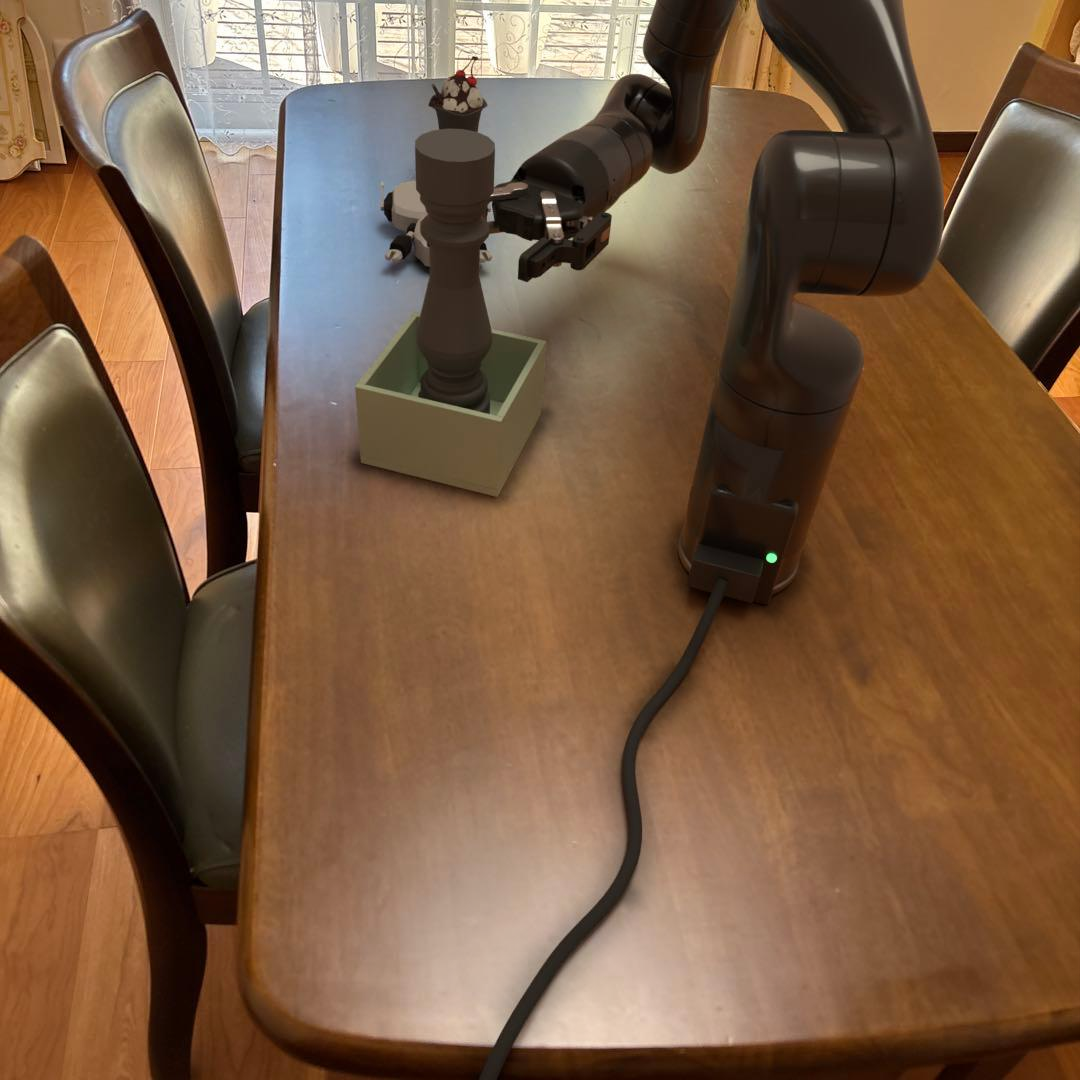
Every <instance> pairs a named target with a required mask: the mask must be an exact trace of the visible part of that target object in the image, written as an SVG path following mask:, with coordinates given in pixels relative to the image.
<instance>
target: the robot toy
mask: <svg viewBox="0 0 1080 1080" xmlns="http://www.w3.org/2000/svg"><path fill="white" fill-rule="evenodd" d="M380 195H381V196H380V199H381V202H380V211H381V212H383V215H384V216H385V217H386V219H387V221H388V222H390V223H392V224H393V225H394V228H395V229H397V230H399V231H401V232H403V233H404V234H400V235H399V234H398V235H396V236H395V238H394V239H393V240H392V241H391V242H390V243H389V244H390V245H389V249H387V251H386V252H385V255H384V259H385V260H386V261H388V262H389V261H391V262H392V263H396V264H397V263H399V262H401V261H404V260H406V258H408V256H409V254H410V253H412V249H414V253H413V254H414V255H415V257H416V258H417V259H418V260H420V262H421V263H422V264H423V265H424V266H426V267H429V268H430V248H428V247H427V241H426V240H425V239H424V238H423V237H422V236H421V233H420V222H421V221H422V219H423V218H424V217H425V216H426V215H428V213H427V212H426V209H425V206H424V205H423V204H422V202H421V201H420V194H419V193H418V192H417V190H416V179H415V180H409V181H403V182H402V183H400V184H397V185H396V186H393V189H392V191H390V192H387V194H386V197H385V198H384V181H380ZM491 210H492V204H491V202H490V203H489V204H488V206H487V216H489V214H488V213H491ZM413 243H414V245H413ZM413 247H414V248H413ZM492 259H493V256H492V254H491V252H490V251H489V250H488V248H487V244H486V243H485V242H484V243H482V245H481V246H480V264H484V263H486V262H491V261H492Z"/></svg>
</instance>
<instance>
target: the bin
mask: <svg viewBox="0 0 1080 1080" xmlns="http://www.w3.org/2000/svg"><path fill="white" fill-rule="evenodd" d="M420 314H421V312H418V311H412V313H411V314H410V315H409V316H408V318H407V319H406V321H404V323H403V324H402V326H401V327H400V328H399V329H398V330H397V332H396V333H395V335H394V336H393V337H392V339H391V340H390V341H389V342H388V344H386V346H385V347H384V348H383V349H382V351H381V352H380V354H379V355H378V357H377V358H376V359H375V360H374V362H373V363H372V365H370V367H369V368H368V369H367V370H366V372H365V373H364V374H363V376H362V377H361V378H360V380H359V381H358V382H357V384H356V385H355V386H354V387H355V388H354V389H355V401H356V402H355V403H356V415H357V428H358V441H359V454H360V463H361V464H364V465H368V466H372V467H376V468H380V469H384V470H388V471H392V472H396V473H400V474H403V475H406V476H412V477H416V478H420V479H423V480H428V481H432V482H436V483H440V484H443V485H448V486H452V487H456V488H459V489H463V490H466V491H470V492H471V491H472V492H475V493H480V494H483V495H487V496H492V497H495V498H498V497H499V496H500V494H501V492H502V490H503V488H504V486H505V484H506V482H507V480H508V478H509V476H510V474H511V472H512V470H513V469H514V467H515V465H516V463H517V461H518V459H519V457H520V456H521V453H522V451H523V450H524V447H525V446H526V444H527V442H528V440H529V438H530V436H531V434H532V433H533V430H534V428H535V426H536V425H537V423H538V421H539V418H540V417H541V414H542V403H543V391H544V378H545V365H546V352H547V340H544V339H539V338H534V337H530V336H525V335H521V334H517V333H512V332H508V331H503V330H500V329H499V330H498V329H495V328H494V329H493V328H491V330H492V345H491V347H490V350H489V352H488V353H487V355H486V356H485V358H484V359H483V360H482V362H481V367H480V368H479V369H480V370H481V371H482V373H483V374H484V375H485V377H486V378H487V384H488V390H487V391H488V392H489V394H490V414H487V413H483V412H478V411H474V410H470V409H466V408H462V407H457V406H453V405H449V404H445V403H440V402H436V401H432V400H428V399H424V398H419V397H418V393H419V391H420V390H421V388H420V387H421V377H422V376H423V375H424V373H425V372H426V371H427V370H428V369H429V367H428V365H427V360H426V359H425V357H424V356H423V354H422V353H421V351H420V350H419V348H418V345H417V326H418V322H419V318H420Z"/></svg>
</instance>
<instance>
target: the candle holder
mask: <svg viewBox="0 0 1080 1080" xmlns="http://www.w3.org/2000/svg"><path fill="white" fill-rule="evenodd" d="M414 160H415V161H414V163H415V167H414V168H415V180H416V190H417V192H418V193H419V194H420V201H421V202H422V204H423V205H424V206H425V209H426V212H427V213H428V215H426V216H425V217H424V218H423V219H422V221H421V222H420V233H421V236H422V237H423V238H424V239H425V240H426V241H427V243H428V244H429V248H430V267H429V277H428V281H427V284H426V285H427V286H426V289H425V294H424V298H423V303H422V306H421V310H420V313H421V314H420V318H419V322H418V326H417V345H418V348H419V350H420V351H421V353H422V354H423V356H424V357H425V359H426V360H427V365H428V367H429V369H428V370H427V371H426V372H425V373H424V375H423V376H422V377H421V387H420V388H421V390H420V391H419V393H418V397H419V398H424V399H428V400H432V401H436V402H440V403H445V404H449V405H453V406H457V407H462V408H466V409H470V410H474V411H478V412H483V413H487V414H490V394H489V392H488V391H487V390H488V384H487V378H486V377H485V375H484V374H483V373H482V371H481V370H480V369H479V368H480V367H481V362H482V360H483V359H484V358H485V356H486V355H487V353H488V352H489V350H490V347H491V345H492V330H491V329H492V326H491V322H490V321H491V320H490V317H489V313H488V308H487V304H486V299H485V295H484V291H483V287H482V284H481V282H482V281H481V278H480V267H481V265H480V264H481V263H480V246H481V245H482V243H485V242H486V240H487V239H488V238H489V236H490V234H489V223H488V222H489V221H488V220H487V221H486V220H485V219H484V218H483V217H482V215H483V213H484V210H485V207H486V206H487V205H488V204H489V202H490V196H491V195H492V194H493V192H494V187H495V168H496V167H495V164H496V144H495V142H494V141H493V139H492V138H490V137H489V136H487V135H486V134H483V133H481V132H479V131H478V132H475V131H470V130H465V129H440V130H439V129H433V130H430V131H427V132H424V133H422V134H420V135H419V136H418V137H417V138H416V139H415V141H414ZM490 203H491V202H490Z"/></svg>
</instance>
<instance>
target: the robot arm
mask: <svg viewBox="0 0 1080 1080" xmlns="http://www.w3.org/2000/svg"><path fill="white" fill-rule="evenodd" d="M739 1H740V0H656V1H655V3H654V5H653V9H652V12H651V15H650V19H649V22H648V25H647V27H646V31H645V34H644V38H643V42H642V54H643V57H644V59H645V61H646V63H647V64H648V65H649V67H651V69H652V70H653V71H654V72H655V73H656V74H657V75H658V76H659V78H661V79H662V80H663V81H664V82H665V84H666V86H665V85H664V84H662V83H660V82H659V81H657V80H655V79H653V78H652V77H650V76H648V75H645V74H641V73H629V74H625V75H624V76H621V77H620V78H619V79H618V80H617V81H616V82H615V83H614V85H613V86H612V88H611V89H610V90H609V92H608V94H607V95H606V98H605V100H604V102H603V105H602V107H601V108H600V110H599V111H598V113H597V114H596V115H595V117H594V118H593V119H591V120H590V121H588V122H587V123H585V124H584V125H582V126H581V127H579V128H578V129H574V130H571V131H569V132H567V133H566V134H564V135H561V136H560V137H559V138H557V139H556V140H554V141H553V142H552V143H549V144H548V145H547V146H545V147H543V148H542V149H540V150H539V151H538V152H536V153H535V154H533V155H531V156H530V157H528V158H527V159H526V160H524V161H523V163H521V165H520V166H519V167H518V169H517V170H516V172H515V173H514V175H513V177H512V178H511V179H510V181H506V182H502V183H497V184H496V185H494V192H493V194H492V195H491V196H490V202H489V203H490V204H491V210H492V216H493V220H490V221H488V215H487V206H488V205H487V206H486V207H485V210H484V213H483V215H482V217H483V218H484V219H485V220H486V221H487V222H488V223H489V235H492V234H500V233H501V234H502V233H505V234H509V235H515V236H517V237H519V238H521V239H523V240H526V241H529V242H532V241H536V242H535V243H534V244H532V245H531V246H529V247H528V248H527V249H526V250H524V251H523V252H522V253H521V254H520V255H519V258H518V263H517V279H518V280H519V281H522V282H525V283H529V282H530V281H531V280H533V279H538V278H541V277H543V275H544V274H545V273H547V272H548V271H549V270H550V269H551V268H558V267H561V266H562V264H569V268H571V269H572V270H574V271H583V270H585V269H586V268H587V267H588V266H589V265H590V264H591V263H592V262H593V261H594V260H595V258H597V257H598V256H599V255H600V254H601V253H602V252H603V251H604V250H605V248H606V247H608V245H609V243H610V237H611V229H612V220H613V219H612V218H613V215H612V214H611V213H610V212H607V211H608V210H610V209H611V208H612V207H613V206H614V205H615V204H616V203H617V201H618V200H619V199H620V198H621V197H622V196H623V195H624V194H625V193H626V192H627V191H629V190H630V189H631V188H633V187H634V186H635V185H636V184H637V183H638V182H640V181H641V180H642V179H643V178H644V177H645V176H646V174H647V173H648V172H649V170H650V168H653V169H655V171H658V172H661V173H663V174H665V175H674V174H678V173H680V172H682V171H685V170H686V169H687V168H688V167H690V165H691V164H692V163H693V162H694V161H695V160H696V159H697V157H698V155H699V154H700V152H701V150H702V147H703V145H704V142H705V139H706V134H707V127H708V121H709V114H710V113H709V112H710V101H711V91H712V84H713V78H714V72H715V66H716V63H717V60H718V57H719V54H720V52H721V48H722V47H723V43H724V41H725V38H726V36H727V33H728V31H729V29H730V26H731V23H732V21H733V19H734V16H735V14H736V10H737V8H738V4H739ZM755 3H756V9H757V13H758V16H759V19H760V23H761V25H762V27H763V29H764V31H765V34H766V35H767V37H768V38H769V40H770V41H771V43H772V45H773V46H774V48H775V49H776V51H777V52H778V53H779V54H780V55H781V57H782V58H783V59H784V60H785V61H786V63H788V65H789V66H790V67H791V68H792V69H793V71H794V72H795V73H796V74H797V75H798V76H799V77H800V78H801V79H802V80H803V82H804V83H805V84H807V86H808V87H809V88H810V89H811V90H812V92H814V93H815V94H816V95H817V96H818V97H819V98H820V100H821V101H822V102H823V103H824V104H825V105H826V106H827V108H828V109H829V110H830V111H831V113H832V114H833V116H834V117H835V119H836V120H837V122H838V124H839V126H840V128H841V130H842V131H835V130H817V129H783V130H781V131H778V132H776V133H774V135H772V136H770V139H768V140H767V142H766V144H764V147H762V149H761V152H760V154H759V156H758V159H757V161H756V164H755V167H754V169H753V170H754V171H753V173H752V178H751V180H750V181H751V182H750V184H749V190H748V197H747V202H746V207H745V213H744V220H743V226H742V227H743V228H742V235H741V240H740V241H741V242H740V248H739V254H738V261H737V265H736V273H735V278H734V283H733V288H732V291H731V297H730V302H729V308H728V312H727V313H728V314H727V320H726V327H725V331H724V332H725V333H724V338H723V342H722V349H721V352H720V357H719V362H718V365H717V366H718V367H717V370H716V375H715V380H714V385H713V389H712V394H711V397H710V401H709V407H708V411H707V417H706V420H705V424H704V430H703V433H702V439H701V443H700V448H699V452H698V456H697V462H696V466H695V470H694V475H693V480H692V485H691V487H690V491H689V498H688V503H687V507H686V512H685V516H684V517H685V518H684V521H683V527H682V528H681V531H680V535H679V539H678V544H677V553H678V556H679V561H680V562H681V564H682V565H683V567H684V569H685V570H686V571H687V573H688V578H687V583H686V587H688V588H693V589H696V590H700V591H702V592H707V593H711V594H710V596H709V598H708V600H707V603H706V605H705V608H704V610H703V612H702V615H701V617H700V619H699V621H698V624H697V625H696V628H695V630H694V632H693V634H692V636H691V638H690V639H689V640H690V641H689V643H688V644H687V645H686V648H685V650H684V652H683V654H682V656H681V657H680V660H679V661H678V662H677V664H676V666H675V668H674V669H673V670H672V672H671V673H670V675H669V676H668V677H667V678H666V680H665V681H664V682H663V684H662V685H661V686H660V688H658V690H657V691H656V692H655V694H653V695H652V697H651V698H650V699H649V700H648V701H647V702H646V704H645V705H644V706H643V707H642V709H641V710H640V711H639V713H638V715H637V717H636V718H635V720H634V721H633V723H632V725H631V727H630V730H629V733H628V735H627V738H626V740H625V746H624V748H623V753H622V761H621V777H622V789H623V797H624V802H625V803H624V804H625V809H626V819H627V841H626V842H627V843H626V850H625V853H624V857H623V860H622V862H621V865H620V868H619V870H618V872H617V874H616V876H615V878H614V879H613V881H612V883H611V885H610V886H609V887H608V889H607V890H606V891H605V893H604V894H603V895H602V897H601V898H600V899H599V900H598V901H597V903H596V904H595V905H594V906H593V907H592V908H591V909H590V910H589V911H588V912H587V913H586V914H585V915H584V916H583V917H582V918H581V919H580V920H579V921H578V922H577V923H576V924H575V925H574V926H573V928H571V929H570V930H569V932H568V933H567V934H566V935H565V936H564V937H563V938H562V939H561V940H560V942H559V943H558V944H557V945H556V947H555V948H554V949H553V950H552V951H551V952H550V954H549V956H548V957H547V959H546V960H545V961H544V963H543V964H542V966H541V967H540V969H539V970H538V972H537V973H536V974H535V976H534V978H533V979H532V980H531V982H530V983H529V985H528V987H527V989H526V990H525V991H524V993H523V994H522V995H521V996H522V997H521V998H520V999H519V1000H518V1002H517V1004H516V1005H515V1007H514V1009H513V1010H512V1012H511V1014H510V1016H509V1018H508V1019H507V1021H506V1023H505V1025H504V1026H503V1027H502V1030H501V1032H500V1033H499V1035H498V1037H497V1039H496V1041H495V1043H494V1045H493V1047H492V1048H491V1051H490V1053H489V1055H488V1058H487V1059H486V1062H485V1064H484V1066H483V1068H482V1071H481V1073H480V1075H479V1077H478V1080H498V1077H499V1076H500V1073H501V1070H502V1069H503V1066H504V1064H505V1062H506V1060H507V1058H508V1057H509V1054H510V1052H511V1050H512V1048H513V1046H514V1045H515V1042H516V1040H517V1039H518V1038H519V1037H518V1036H519V1035H520V1033H521V1031H522V1030H523V1028H524V1026H525V1024H526V1022H527V1021H528V1019H529V1018H530V1016H531V1014H532V1012H533V1011H534V1009H535V1008H536V1006H537V1005H538V1003H539V1001H540V999H541V998H542V996H543V995H544V993H545V992H546V990H547V988H549V986H550V985H551V982H552V981H553V979H554V978H555V977H556V975H557V973H558V972H559V971H560V969H561V968H562V966H563V965H564V964H565V962H566V961H567V959H568V958H569V957H570V956H571V955H572V954H573V952H574V951H576V950H577V948H578V947H579V946H580V944H581V943H582V942H583V941H584V940H585V939H586V938H587V937H588V936H589V935H590V934H591V933H592V932H593V931H594V930H595V929H596V928H597V927H598V925H599V924H600V923H601V922H602V921H603V920H604V919H605V918H606V917H607V916H608V915H609V913H610V912H611V911H612V910H613V909H614V908H615V906H616V905H617V904H618V902H619V901H620V899H621V898H622V896H623V895H624V893H625V891H626V889H627V888H628V886H629V885H630V882H631V880H632V878H633V876H634V873H635V871H636V868H637V866H638V863H639V858H640V855H641V850H642V843H643V821H642V820H643V818H642V812H641V811H642V810H641V804H640V798H639V791H638V785H637V776H636V763H637V753H638V750H639V745H640V742H641V739H642V736H643V734H644V732H645V730H646V728H647V726H648V725H649V723H650V722H651V720H652V719H653V717H654V716H655V714H656V713H657V712H658V711H659V709H660V708H661V707H662V706H663V705H664V703H666V701H667V700H668V699H669V698H670V696H672V695H673V693H674V692H675V690H676V689H677V688H678V686H679V685H680V684H681V682H682V681H683V679H684V678H685V676H686V674H687V673H688V672H689V670H690V668H691V667H692V664H693V662H694V661H695V659H696V657H697V656H698V654H699V652H700V649H701V647H702V645H703V643H704V641H705V640H706V637H707V635H708V633H709V630H710V628H711V627H712V625H713V622H714V619H715V617H716V615H717V612H718V610H719V607H720V605H721V603H722V600H723V597H727V598H731V599H735V600H739V601H742V602H746V603H751V604H752V603H753V602H754V603H757V604H762V605H769V604H770V602H771V598H772V596H773V595H775V594H777V593H780V592H781V591H783V590H784V589H786V588H787V587H788V586H789V585H790V584H791V583H792V582H793V580H794V579H795V577H796V575H797V571H798V569H799V567H800V566H799V565H800V561H801V556H802V552H803V551H804V550H803V549H804V547H805V544H806V540H807V537H808V534H809V531H810V528H811V525H812V522H813V519H814V516H815V513H816V510H817V506H818V503H819V501H820V497H821V494H822V492H823V489H824V486H825V483H826V479H827V477H828V473H829V471H830V468H831V464H832V462H833V459H834V455H835V452H836V450H837V446H838V444H839V441H840V437H841V434H842V432H843V429H844V426H845V423H846V420H847V417H848V414H849V411H850V408H851V405H852V402H853V399H854V396H855V394H856V391H857V388H858V387H859V386H858V385H859V383H860V379H861V376H862V373H863V369H864V366H865V355H864V350H863V347H862V344H861V342H860V340H859V339H858V337H857V336H856V334H855V333H854V332H853V331H852V330H851V329H850V328H849V327H847V325H845V324H844V323H842V322H841V320H838V319H837V318H836V317H833V316H832V315H831V314H828V313H826V312H824V311H823V310H820V309H817V308H815V307H813V306H811V305H810V304H807V303H805V302H802V300H801V301H800V300H799V299H797V298H795V296H796V295H797V294H813V295H814V294H815V295H829V296H830V295H831V296H832V295H833V296H846V297H847V296H848V297H854V296H855V297H869V298H871V297H872V298H875V297H877V298H878V297H881V298H882V297H893V296H900V295H904V294H907V293H910V292H911V291H913V290H915V289H916V288H918V287H919V286H920V285H921V284H922V283H924V282H925V280H926V278H928V276H929V274H931V271H932V269H933V268H934V265H935V263H936V261H937V258H938V254H939V250H940V247H941V244H942V239H943V234H944V233H943V232H944V219H945V195H944V181H943V174H942V167H941V162H940V158H939V157H940V156H939V153H938V149H937V148H938V147H937V145H936V141H935V137H934V133H933V128H932V125H931V122H930V118H929V115H928V114H929V113H928V111H927V108H926V104H925V101H924V97H923V93H922V89H921V86H920V83H919V78H918V76H917V71H916V68H915V64H914V60H913V56H912V51H911V47H910V41H909V35H908V31H907V30H908V29H907V24H906V15H905V7H904V1H903V0H755ZM427 247H428V248H429V244H428V243H427Z"/></svg>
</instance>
